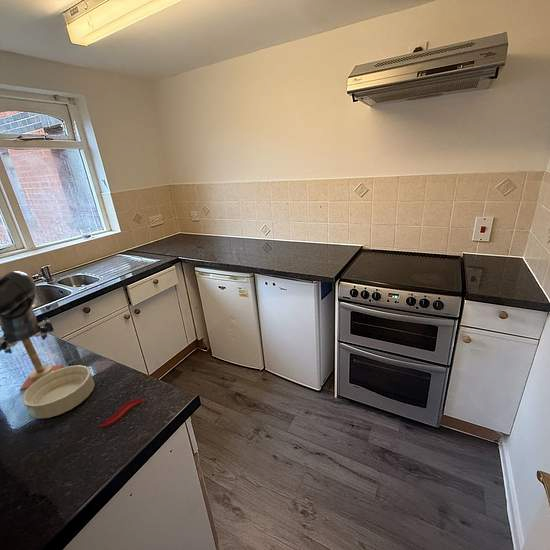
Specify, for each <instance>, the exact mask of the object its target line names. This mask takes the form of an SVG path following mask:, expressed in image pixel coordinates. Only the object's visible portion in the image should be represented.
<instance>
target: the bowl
mask: <svg viewBox="0 0 550 550" xmlns="http://www.w3.org/2000/svg"><path fill="white" fill-rule="evenodd" d="M95 385H96V383H95V379H94V377H93V375H92V372H91V369H90V368H89V367H87V366H86V365H81V364H78V365H77V364H75V365H69V366H65V367H62V368H61V369H59V370H56V371H53V372H51V373H49V374H47V375H45V376H43V377H42V378H40V379H39V380H37V381H36V382H34V383H33V384H32V385H31V386H30V387H29V388H28V389H25V390H24V393H23V394H22V399H21V401H22V403H23V405H24V407H25V409H26V411H27V413H28V414H29V415H30V417H31V418H34V419H39V420H40V419H50V418H53V417H56V416H59V415H62V414H64V413H67V412H68V411H70V410H73V409H74V408H75V407H77V406H79V405H80V404H82V403H83V402H84V401H85V400H86V399H87V398H89V396H90V395H91V393H92V392H93V391H94V388H95Z"/></svg>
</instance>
